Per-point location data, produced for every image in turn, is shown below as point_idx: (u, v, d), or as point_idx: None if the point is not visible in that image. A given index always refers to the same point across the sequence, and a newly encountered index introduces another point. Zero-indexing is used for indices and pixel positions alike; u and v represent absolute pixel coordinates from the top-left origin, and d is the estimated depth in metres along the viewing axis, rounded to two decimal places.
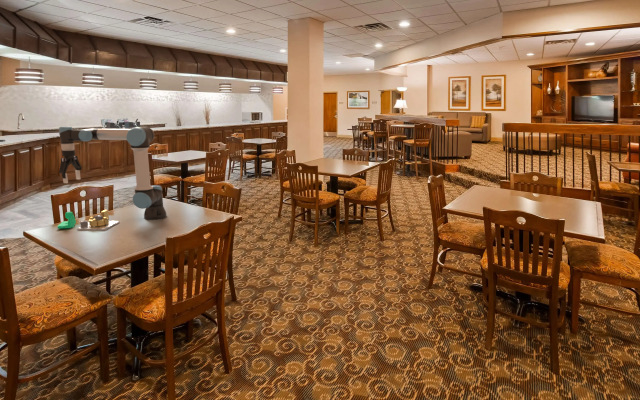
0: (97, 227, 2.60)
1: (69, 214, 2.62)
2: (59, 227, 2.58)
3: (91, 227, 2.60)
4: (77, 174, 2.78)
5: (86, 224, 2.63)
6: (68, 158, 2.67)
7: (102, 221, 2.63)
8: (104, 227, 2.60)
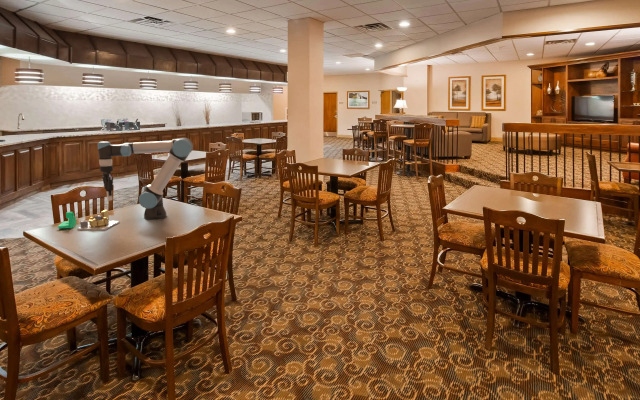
0: (97, 227, 2.60)
1: (70, 214, 2.62)
2: (60, 227, 2.58)
3: (91, 227, 2.60)
4: None
5: (86, 224, 2.63)
6: (103, 172, 2.67)
7: (102, 221, 2.63)
8: (104, 227, 2.60)
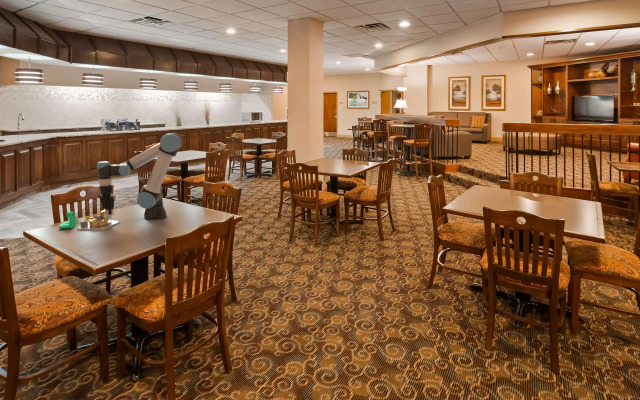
0: (97, 227, 2.60)
1: (70, 214, 2.62)
2: (60, 227, 2.58)
3: (91, 227, 2.60)
4: None
5: (86, 224, 2.63)
6: (101, 192, 2.70)
7: (103, 221, 2.63)
8: (104, 227, 2.60)
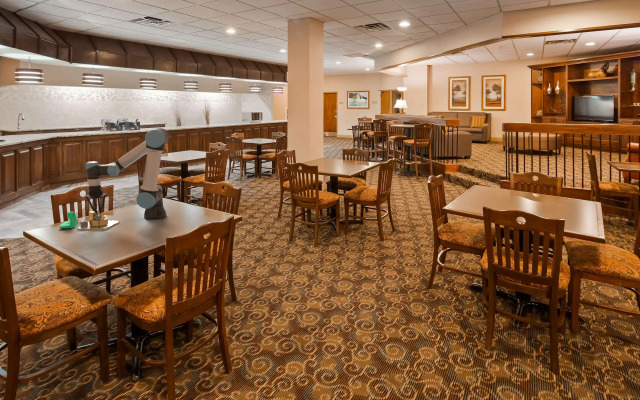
0: (97, 227, 2.60)
1: (71, 214, 2.62)
2: (61, 227, 2.58)
3: (91, 227, 2.60)
4: None
5: (86, 224, 2.63)
6: (90, 193, 2.67)
7: (107, 219, 2.68)
8: (104, 227, 2.60)
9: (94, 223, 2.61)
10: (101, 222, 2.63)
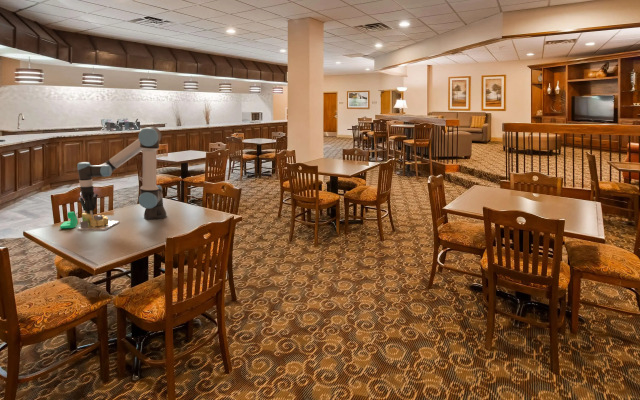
0: (97, 227, 2.60)
1: (71, 214, 2.62)
2: (62, 227, 2.58)
3: (91, 227, 2.60)
4: None
5: (86, 224, 2.63)
6: (84, 194, 2.63)
7: None
8: (104, 227, 2.60)
9: (99, 223, 2.62)
10: (105, 221, 2.65)
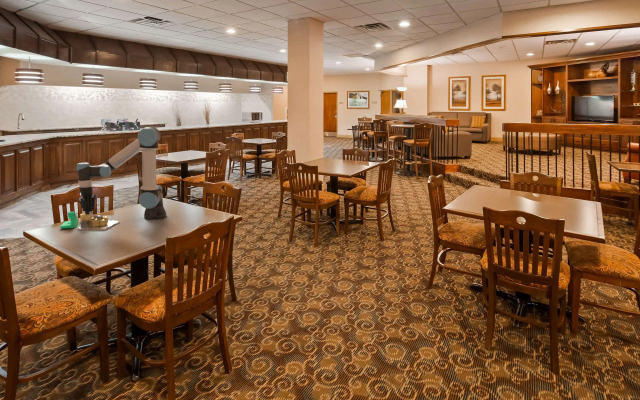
0: (97, 227, 2.60)
1: (72, 214, 2.62)
2: (62, 227, 2.58)
3: (91, 227, 2.60)
4: None
5: (86, 224, 2.63)
6: (84, 194, 2.62)
7: None
8: (104, 227, 2.60)
9: (101, 222, 2.63)
10: (106, 220, 2.67)
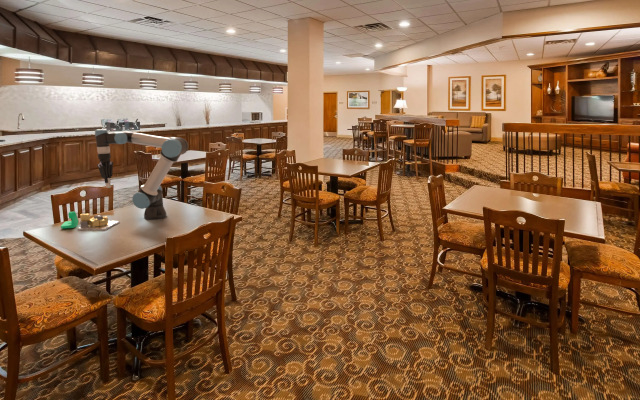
0: (97, 227, 2.60)
1: (72, 214, 2.62)
2: (63, 227, 2.59)
3: (91, 227, 2.60)
4: None
5: (86, 224, 2.63)
6: (103, 161, 2.67)
7: None
8: (104, 227, 2.60)
9: (101, 222, 2.63)
10: (106, 220, 2.67)
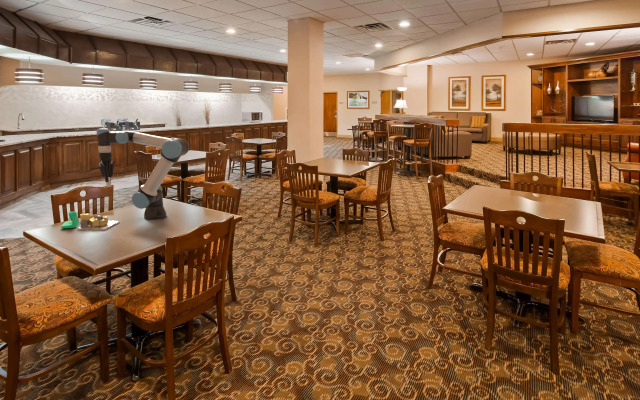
0: (97, 227, 2.60)
1: (73, 214, 2.62)
2: (63, 227, 2.59)
3: (91, 227, 2.60)
4: None
5: (86, 224, 2.63)
6: (104, 160, 2.67)
7: None
8: (104, 227, 2.60)
9: (101, 222, 2.63)
10: (106, 220, 2.67)
